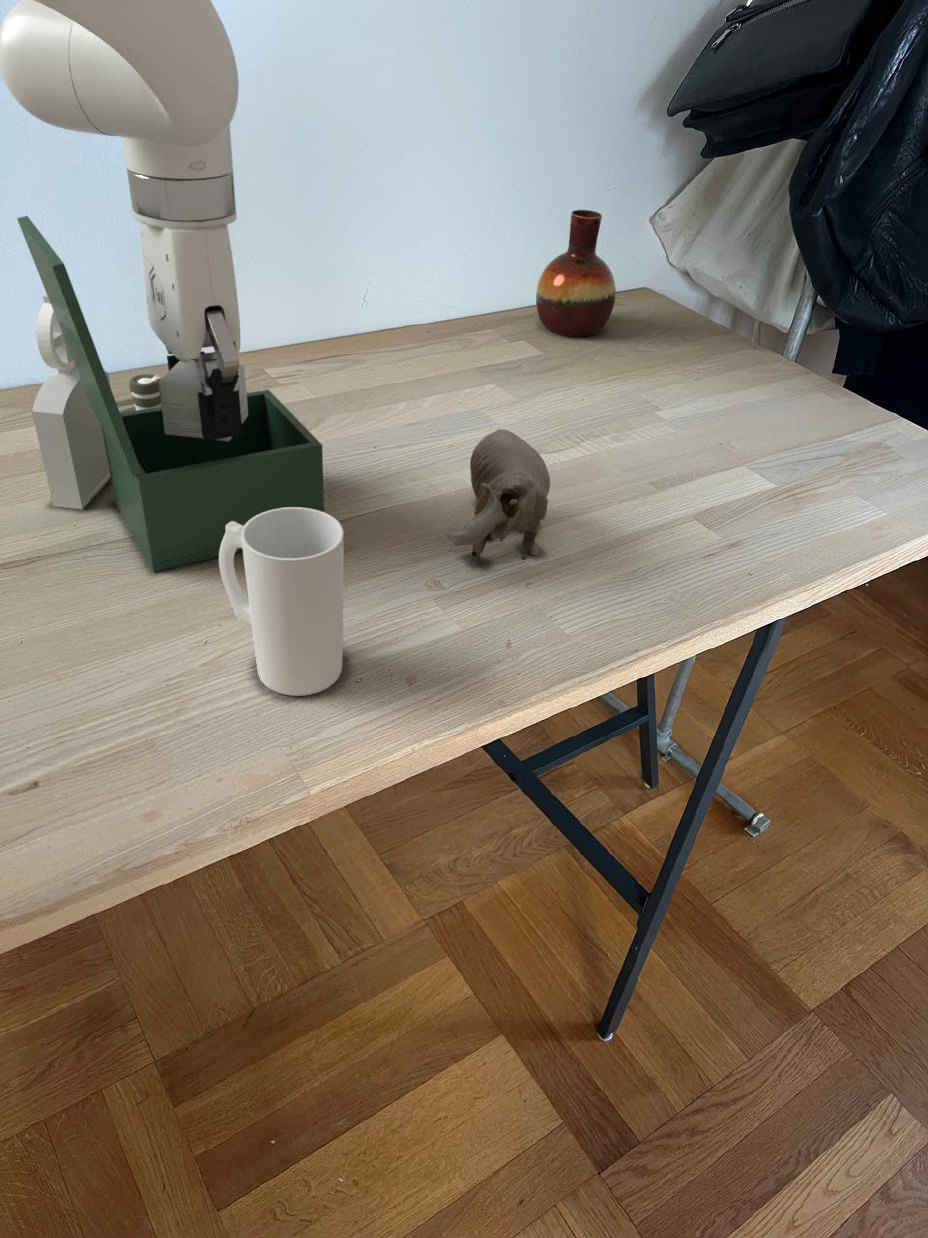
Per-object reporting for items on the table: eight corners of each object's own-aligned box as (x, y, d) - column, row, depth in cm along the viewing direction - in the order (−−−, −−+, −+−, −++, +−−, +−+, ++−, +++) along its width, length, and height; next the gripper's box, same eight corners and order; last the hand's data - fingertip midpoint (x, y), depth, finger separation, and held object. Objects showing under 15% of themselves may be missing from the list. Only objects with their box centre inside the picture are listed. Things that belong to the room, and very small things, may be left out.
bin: (274, 471, 93) (268, 389, 88) (325, 532, 85) (322, 444, 80) (115, 503, 86) (99, 416, 81) (153, 572, 78) (138, 479, 73)
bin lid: (27, 215, 70) (16, 217, 70) (63, 263, 62) (51, 266, 61) (102, 409, 81) (93, 412, 81) (142, 472, 73) (132, 476, 72)
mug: (363, 660, 70) (363, 525, 63) (311, 711, 66) (304, 571, 58) (257, 617, 74) (246, 484, 67) (200, 662, 69) (181, 524, 62)
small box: (249, 416, 82) (246, 362, 79) (229, 443, 77) (224, 387, 74) (186, 409, 82) (180, 355, 79) (163, 436, 78) (155, 380, 75)
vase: (560, 345, 127) (575, 226, 118) (518, 318, 134) (529, 205, 125) (625, 336, 131) (644, 221, 122) (580, 311, 139) (596, 201, 130)
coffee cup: (74, 415, 100) (65, 371, 97) (177, 390, 107) (171, 349, 104) (123, 457, 93) (115, 411, 91) (229, 428, 100) (225, 385, 97)
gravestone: (123, 462, 93) (92, 280, 82) (82, 509, 85) (41, 314, 74) (97, 459, 93) (62, 276, 82) (53, 506, 85) (9, 311, 74)
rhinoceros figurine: (560, 472, 92) (555, 389, 77) (546, 603, 87) (538, 540, 73) (482, 468, 93) (464, 385, 79) (465, 596, 89) (442, 533, 75)
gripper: (102, 172, 73) (134, 385, 83) (167, 229, 61) (194, 468, 72) (196, 169, 76) (215, 374, 87) (274, 221, 65) (286, 451, 75)
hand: (206, 415), depth 79 cm, fingers closed on small box, 7 cm apart
